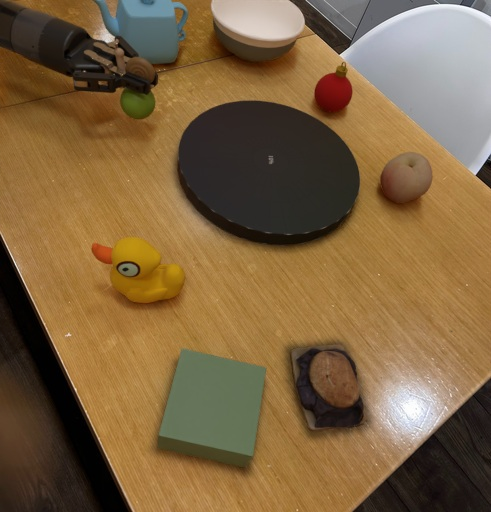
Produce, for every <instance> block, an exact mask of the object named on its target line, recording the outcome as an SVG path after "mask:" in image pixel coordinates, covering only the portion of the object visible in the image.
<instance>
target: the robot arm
mask: <svg viewBox="0 0 491 512" xmlns="http://www.w3.org/2000/svg"><path fill="white" fill-rule="evenodd" d="M116 39H118V40H119V43H117V45H114V42H115V40H116ZM0 48H2V49H5V50H7V51H10V52H11V53H14V54H17V55H19V56H21V57H23V58H24V59H26V60H28V61H30V62H32V63H35V64H36V65H39V66H41V67H44V68H46V69H48V70H50V71H51V70H52V71H54V72H56V73H58V74H61V75H63V76H66V77H68V78H72V81H73V82H72V83H73V89H74V91H76V92H89V93H103V94H104V93H106V94H114V93H116V92H117V89H125V88H128V89H130V90H133V91H135V92H138V93H141V94H145V95H148V94H149V93H150V91H152V89H151V84H153V85H154V88H155V87H156V86H157V85H158V84H159V74H158V72H156V71H155V70H154V72H155V78H154V80H153V82H152V83H151V82H150V81H149V80H147V79H145V78H142V77H140V76H137V75H135V74H132V73H130V72H128V73H127V74H126V72H125V71H124V70H122V69H120V68H118V65H117V60H116V56H115V52H114V50H115V48H121V49H122V50H123V51H124V57H123V58H124V62H125V65H126V63H127V62H128V60H129V59H131V58H133V57H139V54H138V53H137V52H136V51H135V50H134V49H133V48H132V47H131V46H130V45H129V44H128V43H127V42H126V41H125V40H124V39H123V38H122V37H121V36H115V37H114V41H110V42H106V41H105V40H103V39H95V38H93V37H92V36H91V35H90V34H89V33H88V31H87V30H86V29H85V28H84V27H81V26H79V25H77V24H74V23H72V22H69V21H67V20H64V19H62V18H60V17H57V16H54V15H52V14H50V13H47V12H44V11H41V10H38V9H37V10H36V9H33V8H30V7H28V6H25V5H22V4H20V3H17V2H16V1H13V0H0ZM99 82H100V83H102V84H100V83H99Z"/></svg>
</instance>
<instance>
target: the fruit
mask: <svg viewBox="0 0 491 512" xmlns="http://www.w3.org/2000/svg"><path fill="white" fill-rule="evenodd" d="M433 176H434V175H433V169H432V165H431V162H430V161H429V159H428V158H426V157H425V155H423V154H421V153H418V152H415V151H407V152H403V153H400V154H398V155H397V156H395V157H393V158H391V159H389V161H387V163H386V164H385V165H384V167H383V168H382V170H381V174H380V177H379V178H380V181H379V182H380V187H381V190H382V192H383V194H384V196H385V197H387V198H388V200H390V201H392V202H394V203H396V204H404V203H407V202H411V201H414V200H417V199H419V198H420V197H422V196H424V195H425V194H427V192H428V191H429V189H430V188H431V185H432V183H433Z"/></svg>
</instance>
